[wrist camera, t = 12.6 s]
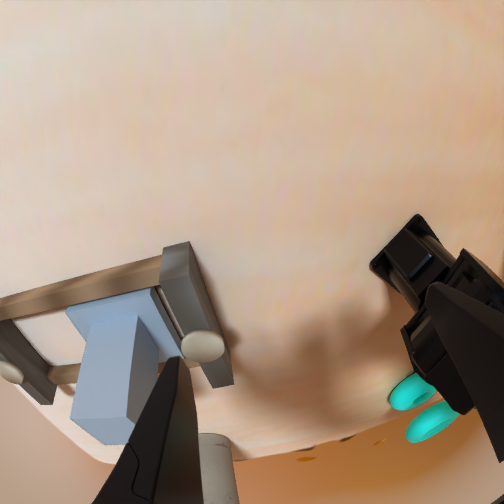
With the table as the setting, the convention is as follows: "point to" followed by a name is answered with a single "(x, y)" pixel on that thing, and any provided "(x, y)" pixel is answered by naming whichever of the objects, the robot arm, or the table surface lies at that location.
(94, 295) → the track
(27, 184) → the table surface
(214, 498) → the thermos bottle
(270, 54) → the table surface
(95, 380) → the carriage
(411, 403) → the donuts
